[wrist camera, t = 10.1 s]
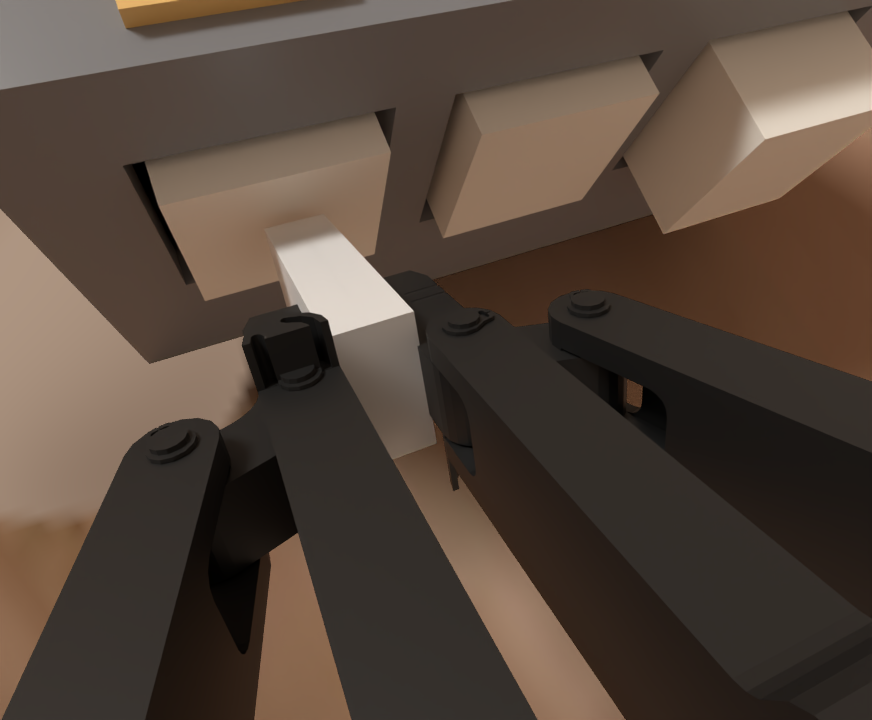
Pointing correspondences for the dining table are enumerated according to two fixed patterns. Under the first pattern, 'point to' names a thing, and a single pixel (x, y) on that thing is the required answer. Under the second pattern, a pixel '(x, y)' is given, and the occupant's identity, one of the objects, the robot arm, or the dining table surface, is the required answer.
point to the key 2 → (754, 119)
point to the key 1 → (270, 196)
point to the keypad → (299, 121)
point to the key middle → (534, 142)
